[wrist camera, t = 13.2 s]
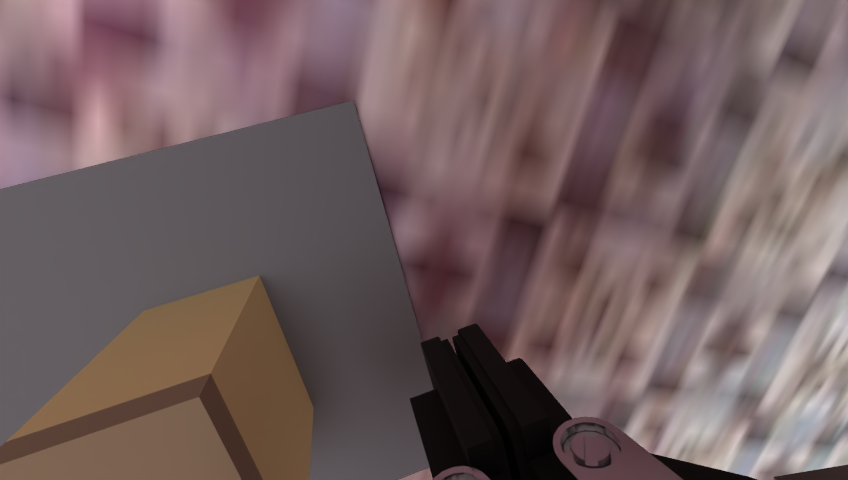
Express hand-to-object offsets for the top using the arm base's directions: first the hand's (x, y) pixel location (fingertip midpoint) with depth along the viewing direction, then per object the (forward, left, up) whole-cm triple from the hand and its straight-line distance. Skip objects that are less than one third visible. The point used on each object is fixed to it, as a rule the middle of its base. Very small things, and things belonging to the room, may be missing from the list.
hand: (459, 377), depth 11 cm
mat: (+10, 0, -6) cm, 12 cm away
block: (+7, 0, -5) cm, 9 cm away
